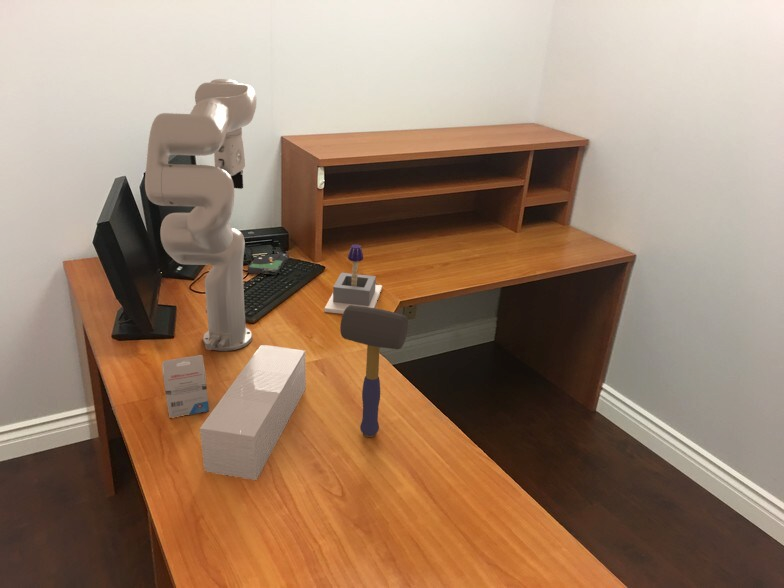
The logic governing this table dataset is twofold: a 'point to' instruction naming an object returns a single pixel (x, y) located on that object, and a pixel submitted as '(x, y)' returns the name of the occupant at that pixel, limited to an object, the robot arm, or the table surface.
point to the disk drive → (267, 263)
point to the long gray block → (253, 412)
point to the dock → (353, 293)
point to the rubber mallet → (373, 351)
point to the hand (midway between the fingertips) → (230, 192)
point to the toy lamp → (355, 261)
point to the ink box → (185, 386)
